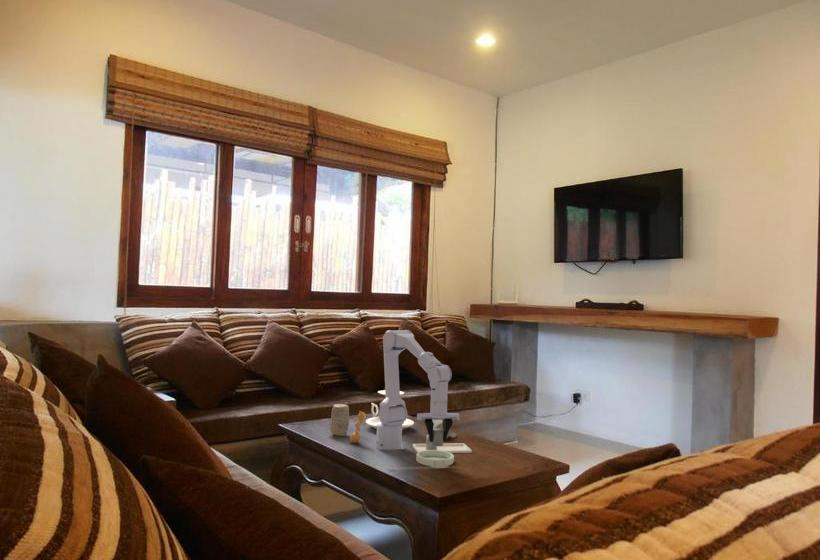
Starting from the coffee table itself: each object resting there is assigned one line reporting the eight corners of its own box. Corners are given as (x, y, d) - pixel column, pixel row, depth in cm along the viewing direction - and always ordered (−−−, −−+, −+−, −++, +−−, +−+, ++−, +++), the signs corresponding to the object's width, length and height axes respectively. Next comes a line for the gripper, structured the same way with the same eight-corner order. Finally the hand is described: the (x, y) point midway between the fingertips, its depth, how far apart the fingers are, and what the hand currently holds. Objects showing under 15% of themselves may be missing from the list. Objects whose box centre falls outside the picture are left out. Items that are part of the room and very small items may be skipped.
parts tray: (418, 455, 205) (418, 451, 205) (412, 447, 215) (412, 443, 215) (471, 454, 209) (471, 450, 209) (463, 446, 219) (463, 443, 219)
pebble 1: (427, 451, 209) (427, 437, 209) (424, 448, 213) (425, 434, 213) (437, 450, 210) (438, 437, 210) (435, 447, 214) (435, 434, 214)
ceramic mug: (434, 441, 226) (435, 421, 226) (427, 435, 234) (428, 417, 234) (459, 440, 229) (460, 421, 230) (451, 435, 237) (452, 416, 237)
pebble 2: (432, 446, 193) (433, 431, 193) (430, 442, 197) (431, 428, 197) (444, 446, 193) (444, 431, 193) (441, 443, 197) (442, 428, 197)
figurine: (345, 441, 221) (346, 409, 221) (358, 439, 224) (360, 408, 224) (355, 446, 214) (357, 414, 214) (369, 444, 217) (371, 412, 218)
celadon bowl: (420, 468, 190) (421, 460, 190) (413, 457, 202) (413, 450, 202) (457, 467, 192) (457, 459, 192) (447, 456, 204) (448, 449, 205)
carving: (350, 436, 228) (352, 406, 229) (332, 437, 225) (333, 407, 225) (345, 432, 234) (347, 403, 234) (328, 433, 231) (329, 403, 231)
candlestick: (389, 419, 260) (392, 358, 261) (423, 431, 241) (426, 365, 241) (351, 424, 248) (353, 360, 249) (383, 437, 228) (386, 367, 229)
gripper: (420, 403, 190) (419, 444, 190) (462, 403, 193) (461, 443, 192) (416, 399, 197) (414, 439, 197) (456, 399, 200) (455, 438, 199)
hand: (437, 441), depth 195 cm, fingers closed on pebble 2, 4 cm apart
